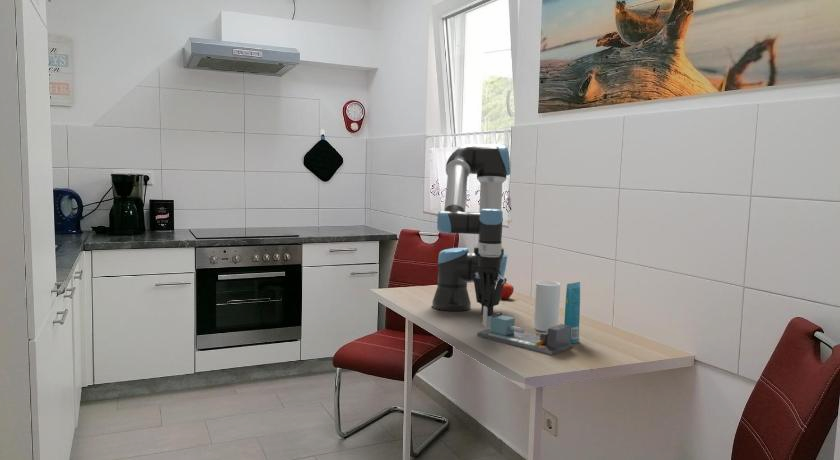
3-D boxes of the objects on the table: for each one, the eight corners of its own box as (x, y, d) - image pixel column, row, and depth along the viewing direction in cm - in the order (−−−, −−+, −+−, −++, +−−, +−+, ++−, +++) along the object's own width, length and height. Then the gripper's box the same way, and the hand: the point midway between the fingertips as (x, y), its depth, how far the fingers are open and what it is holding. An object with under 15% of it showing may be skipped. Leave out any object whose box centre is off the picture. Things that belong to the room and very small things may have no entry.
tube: (569, 337, 204) (572, 280, 202) (582, 340, 201) (586, 282, 199) (558, 342, 199) (561, 283, 197) (572, 345, 195) (575, 285, 194)
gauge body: (490, 331, 204) (491, 314, 203) (499, 329, 207) (499, 312, 207) (518, 338, 196) (519, 320, 196) (527, 335, 200) (527, 318, 199)
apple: (511, 297, 267) (512, 274, 266) (514, 300, 260) (515, 277, 259) (493, 296, 267) (494, 273, 266) (496, 300, 260) (497, 276, 259)
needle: (533, 345, 189) (533, 335, 189) (544, 341, 194) (545, 331, 194) (538, 346, 188) (539, 337, 188) (550, 342, 193) (550, 333, 193)
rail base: (477, 335, 203) (478, 314, 202) (498, 329, 212) (499, 309, 211) (552, 355, 184) (553, 331, 183) (572, 347, 193) (573, 324, 192)
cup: (544, 332, 210) (546, 286, 208) (529, 326, 217) (531, 281, 215) (563, 330, 214) (565, 284, 212) (547, 324, 221) (549, 280, 219)
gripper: (467, 254, 207) (464, 323, 209) (499, 258, 198) (496, 330, 201) (480, 252, 213) (478, 319, 215) (512, 256, 204) (509, 326, 206)
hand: (486, 324), depth 208 cm, fingers closed
